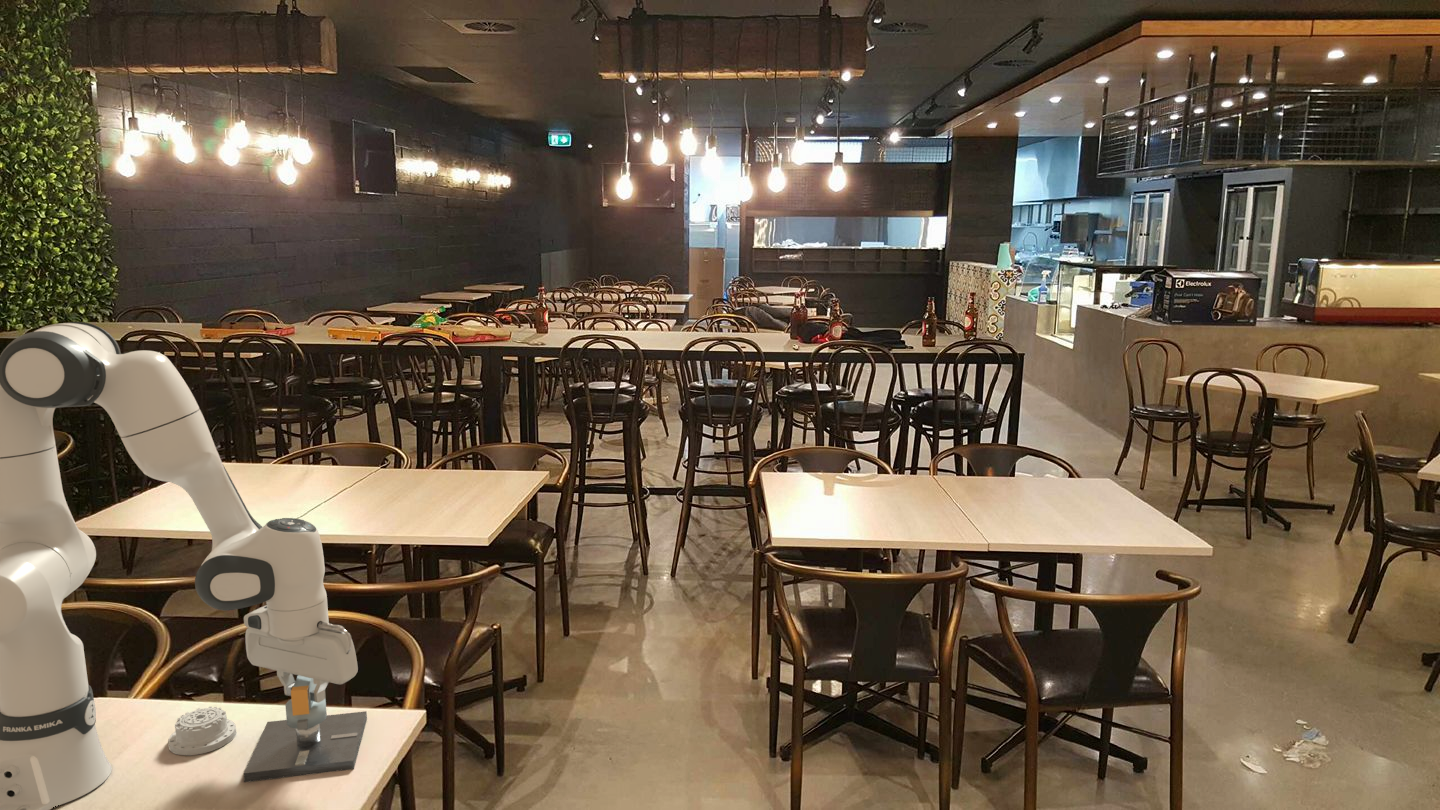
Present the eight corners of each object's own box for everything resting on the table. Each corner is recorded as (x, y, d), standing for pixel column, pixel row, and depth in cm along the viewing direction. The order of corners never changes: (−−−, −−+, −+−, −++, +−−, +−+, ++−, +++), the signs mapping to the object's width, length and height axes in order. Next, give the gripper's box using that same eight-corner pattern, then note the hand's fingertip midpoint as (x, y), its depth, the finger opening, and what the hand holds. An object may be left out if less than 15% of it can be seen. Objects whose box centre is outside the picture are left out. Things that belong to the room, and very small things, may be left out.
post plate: (244, 782, 145) (241, 752, 144) (268, 729, 160) (265, 702, 159) (353, 769, 148) (351, 740, 147) (366, 719, 164) (365, 692, 163)
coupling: (292, 709, 156) (288, 670, 155) (330, 705, 158) (327, 666, 156) (282, 733, 149) (278, 692, 147) (322, 729, 150) (319, 688, 149)
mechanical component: (154, 753, 153) (207, 760, 151) (151, 729, 152) (205, 735, 150) (198, 723, 163) (249, 728, 161) (196, 699, 162) (247, 705, 160)
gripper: (363, 620, 149) (369, 700, 152) (267, 601, 156) (273, 678, 159) (334, 635, 143) (340, 718, 146) (235, 615, 151) (242, 694, 153)
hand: (304, 697), depth 152 cm, fingers closed on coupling, 4 cm apart
